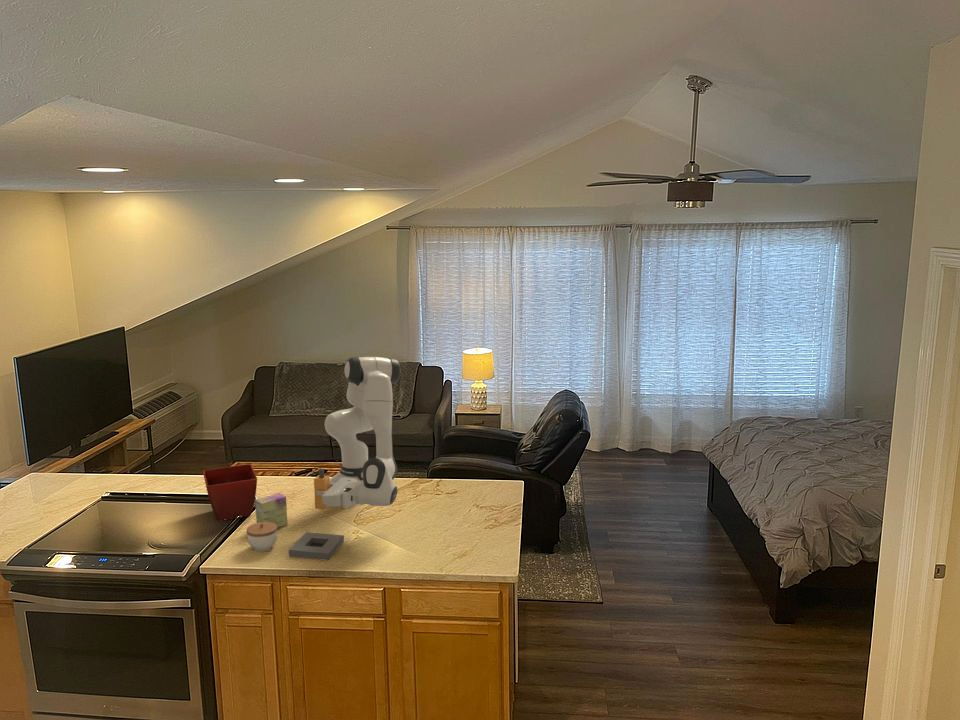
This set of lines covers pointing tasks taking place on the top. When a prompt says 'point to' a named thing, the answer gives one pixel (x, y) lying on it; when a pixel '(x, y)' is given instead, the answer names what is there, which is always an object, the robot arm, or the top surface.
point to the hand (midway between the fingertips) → (320, 489)
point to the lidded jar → (262, 535)
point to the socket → (316, 546)
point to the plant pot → (231, 490)
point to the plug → (321, 488)
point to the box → (272, 509)
